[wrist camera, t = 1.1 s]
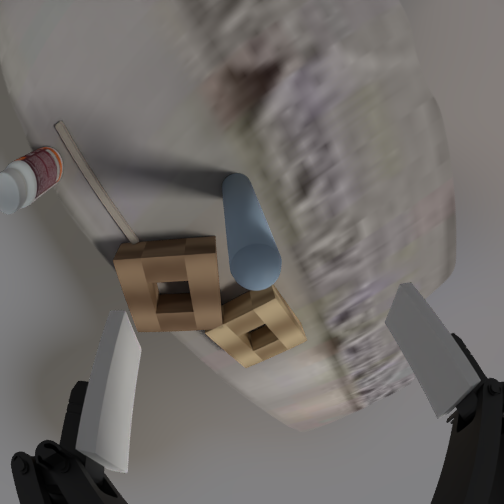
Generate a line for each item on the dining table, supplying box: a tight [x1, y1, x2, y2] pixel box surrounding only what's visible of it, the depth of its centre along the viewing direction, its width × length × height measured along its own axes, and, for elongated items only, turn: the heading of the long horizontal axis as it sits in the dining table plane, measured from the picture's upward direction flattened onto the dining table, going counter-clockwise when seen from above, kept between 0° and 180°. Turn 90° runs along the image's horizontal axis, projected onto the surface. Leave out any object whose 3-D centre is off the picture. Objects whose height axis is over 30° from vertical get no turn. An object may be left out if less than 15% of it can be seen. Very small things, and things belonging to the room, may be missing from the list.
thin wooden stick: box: [55, 121, 139, 245], centre depth 25 cm, size 16×1×1 cm, turn 25°
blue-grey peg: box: [222, 173, 282, 291], centre depth 21 cm, size 3×3×15 cm
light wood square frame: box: [205, 285, 307, 368], centre depth 37 cm, size 10×10×4 cm
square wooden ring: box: [113, 236, 223, 332], centre depth 31 cm, size 11×11×4 cm
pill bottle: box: [0, 146, 63, 214], centre depth 19 cm, size 5×5×8 cm
